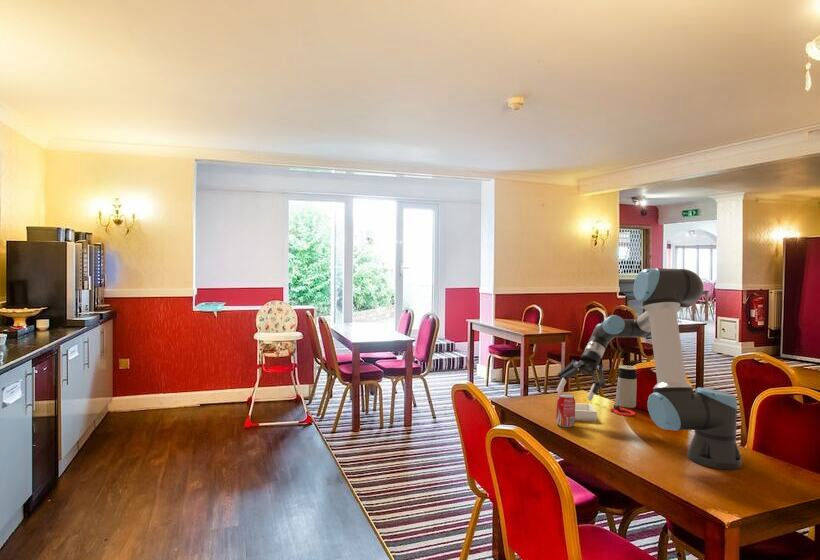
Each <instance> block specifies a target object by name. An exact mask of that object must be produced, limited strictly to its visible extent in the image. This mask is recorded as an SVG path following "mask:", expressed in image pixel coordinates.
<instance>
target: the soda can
mask: <svg viewBox="0 0 820 560" xmlns="http://www.w3.org/2000/svg"><path fill="white" fill-rule="evenodd" d="M575 403H576V399H575V398H574V395H573V394H570V393H561V394H558V397H557V399H556V409H555V410H556V413H555V418H556V419H555V420H556V424H557V425H558V426H560V427H562V428H572V427H573V426H574V425H575V421H576V420H575Z"/></svg>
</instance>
